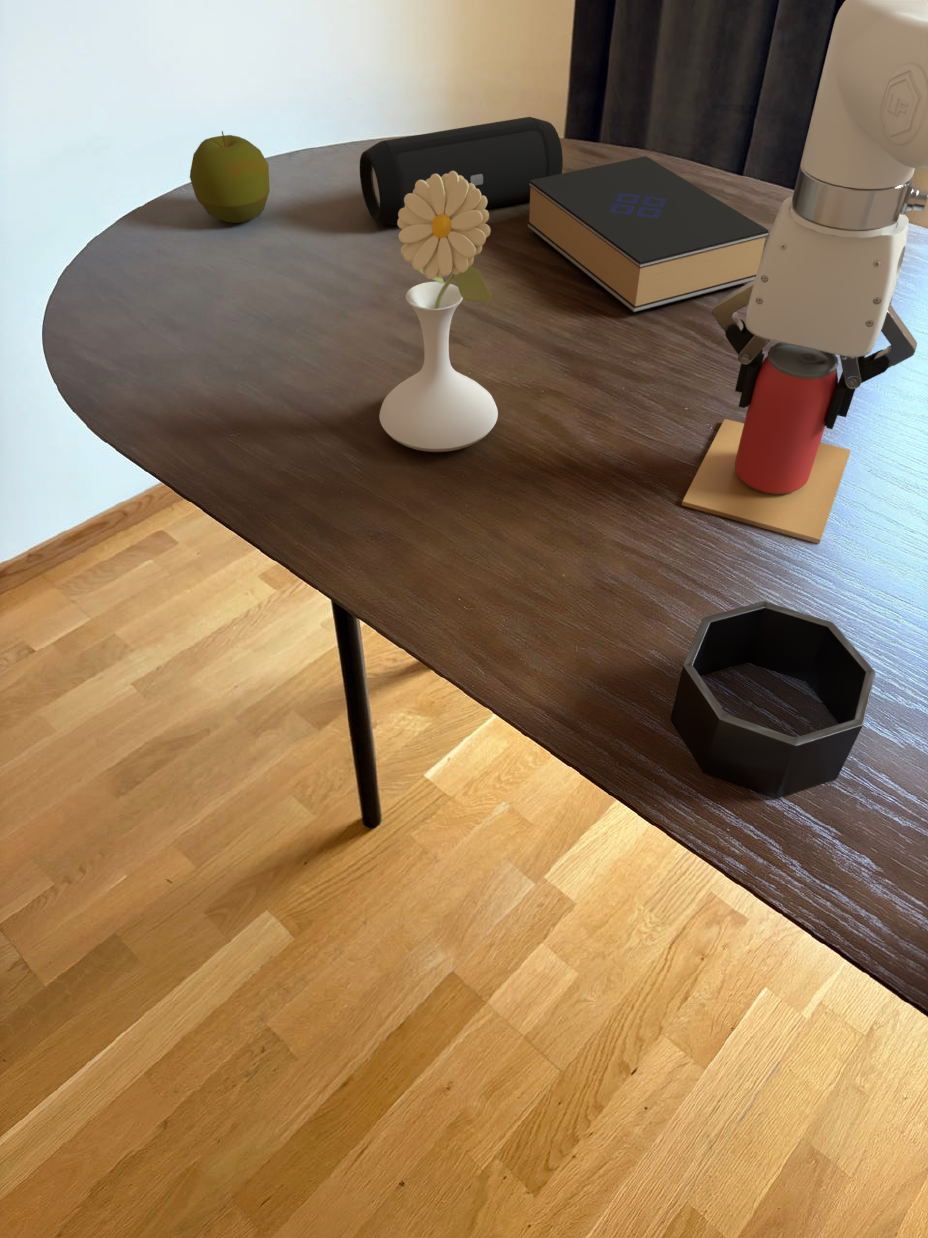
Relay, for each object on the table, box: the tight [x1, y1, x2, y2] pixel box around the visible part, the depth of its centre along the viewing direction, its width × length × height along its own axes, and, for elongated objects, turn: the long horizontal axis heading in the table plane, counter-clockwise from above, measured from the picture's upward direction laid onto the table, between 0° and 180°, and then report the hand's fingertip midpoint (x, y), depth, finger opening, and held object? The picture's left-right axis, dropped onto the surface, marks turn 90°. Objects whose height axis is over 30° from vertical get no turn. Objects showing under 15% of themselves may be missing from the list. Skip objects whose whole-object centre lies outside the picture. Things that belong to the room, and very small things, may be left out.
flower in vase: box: [378, 171, 499, 453], centre depth 82 cm, size 13×11×25 cm
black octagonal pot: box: [669, 600, 876, 800], centre depth 64 cm, size 12×12×6 cm
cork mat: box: [681, 418, 852, 545], centre depth 85 cm, size 12×14×1 cm
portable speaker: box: [359, 116, 564, 226], centre depth 123 cm, size 26×10×10 cm, turn 113°
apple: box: [189, 130, 271, 224], centre depth 121 cm, size 10×10×11 cm
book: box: [526, 155, 770, 313], centre depth 113 cm, size 17×25×7 cm
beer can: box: [735, 342, 839, 494], centre depth 80 cm, size 7×7×12 cm
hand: (788, 408), depth 80 cm, fingers closed on beer can, 6 cm apart
